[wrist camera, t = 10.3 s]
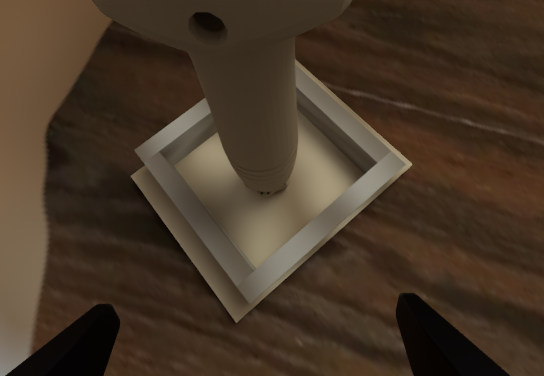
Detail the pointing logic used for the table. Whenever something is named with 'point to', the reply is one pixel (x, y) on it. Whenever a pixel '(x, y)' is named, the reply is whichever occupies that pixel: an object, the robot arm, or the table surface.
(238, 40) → the handle
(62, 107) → the table surface
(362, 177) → the board
